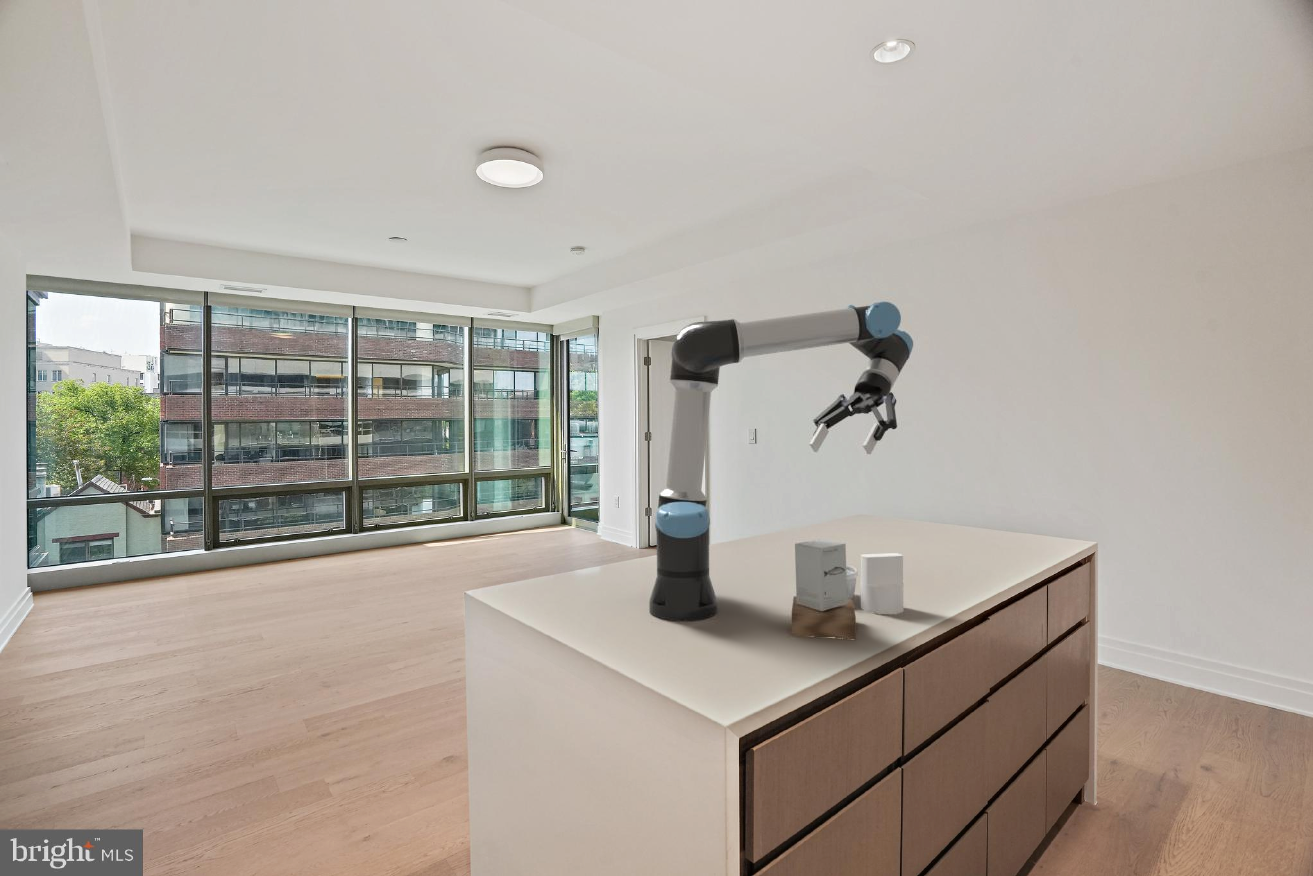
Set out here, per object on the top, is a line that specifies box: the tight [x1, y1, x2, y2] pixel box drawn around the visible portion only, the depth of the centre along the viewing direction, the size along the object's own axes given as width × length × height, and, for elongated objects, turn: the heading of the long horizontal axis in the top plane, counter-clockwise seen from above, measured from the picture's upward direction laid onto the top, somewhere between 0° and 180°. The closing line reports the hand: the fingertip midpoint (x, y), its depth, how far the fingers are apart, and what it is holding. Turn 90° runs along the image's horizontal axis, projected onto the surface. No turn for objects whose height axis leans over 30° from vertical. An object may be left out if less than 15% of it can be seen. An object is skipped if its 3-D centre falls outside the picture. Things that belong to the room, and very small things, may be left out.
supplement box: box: [794, 538, 847, 611], centre depth 130 cm, size 7×7×13 cm
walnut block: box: [791, 595, 857, 640], centre depth 130 cm, size 12×12×5 cm
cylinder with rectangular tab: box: [860, 552, 904, 615], centre depth 143 cm, size 9×9×12 cm
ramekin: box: [846, 564, 859, 600], centre depth 153 cm, size 13×13×7 cm
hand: (838, 449), depth 142 cm, fingers open, 13 cm apart
